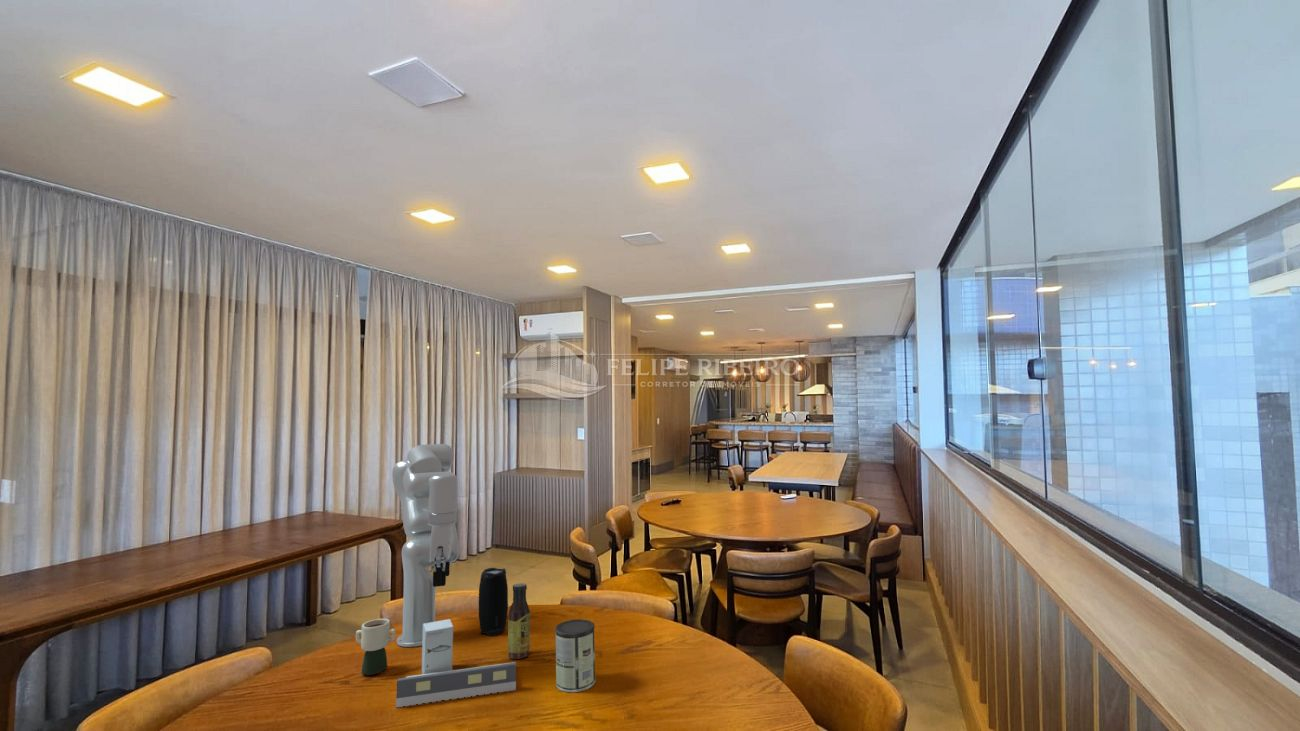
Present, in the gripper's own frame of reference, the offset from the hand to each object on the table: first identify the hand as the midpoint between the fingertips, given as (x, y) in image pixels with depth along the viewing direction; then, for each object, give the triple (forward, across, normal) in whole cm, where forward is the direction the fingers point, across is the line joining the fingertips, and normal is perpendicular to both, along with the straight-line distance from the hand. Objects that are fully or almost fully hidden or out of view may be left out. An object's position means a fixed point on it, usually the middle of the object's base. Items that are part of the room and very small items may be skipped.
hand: (441, 580), depth 147 cm
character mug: (+25, -6, -18) cm, 31 cm away
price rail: (+22, +16, +6) cm, 28 cm away
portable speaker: (+25, -26, +14) cm, 38 cm away
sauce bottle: (+24, -4, +21) cm, 33 cm away
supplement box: (+24, 0, -1) cm, 24 cm away
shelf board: (+24, +11, +6) cm, 27 cm away
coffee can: (+24, +18, +35) cm, 46 cm away
